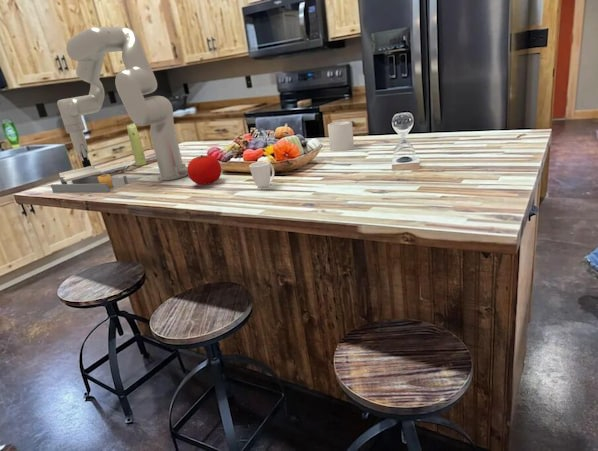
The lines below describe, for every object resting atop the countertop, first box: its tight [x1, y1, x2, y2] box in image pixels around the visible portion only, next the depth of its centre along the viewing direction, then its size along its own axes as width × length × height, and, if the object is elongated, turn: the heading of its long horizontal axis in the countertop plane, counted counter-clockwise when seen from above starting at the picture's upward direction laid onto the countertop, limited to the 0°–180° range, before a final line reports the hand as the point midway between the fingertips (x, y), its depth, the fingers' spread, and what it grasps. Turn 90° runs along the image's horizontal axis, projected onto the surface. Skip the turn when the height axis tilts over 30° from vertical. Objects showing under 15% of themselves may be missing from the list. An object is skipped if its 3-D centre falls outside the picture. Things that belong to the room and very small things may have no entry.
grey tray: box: [50, 175, 143, 194], centre depth 173 cm, size 30×20×4 cm, turn 68°
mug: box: [327, 120, 355, 152], centre depth 180 cm, size 14×10×11 cm
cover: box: [58, 164, 102, 184], centre depth 178 cm, size 15×11×5 cm
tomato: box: [187, 154, 222, 185], centre depth 152 cm, size 11×12×10 cm
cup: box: [248, 160, 275, 191], centre depth 139 cm, size 7×10×8 cm
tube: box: [126, 122, 148, 167], centre depth 200 cm, size 6×5×20 cm
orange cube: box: [97, 173, 114, 189], centre depth 166 cm, size 5×5×5 cm
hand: (88, 169), depth 189 cm, fingers closed
